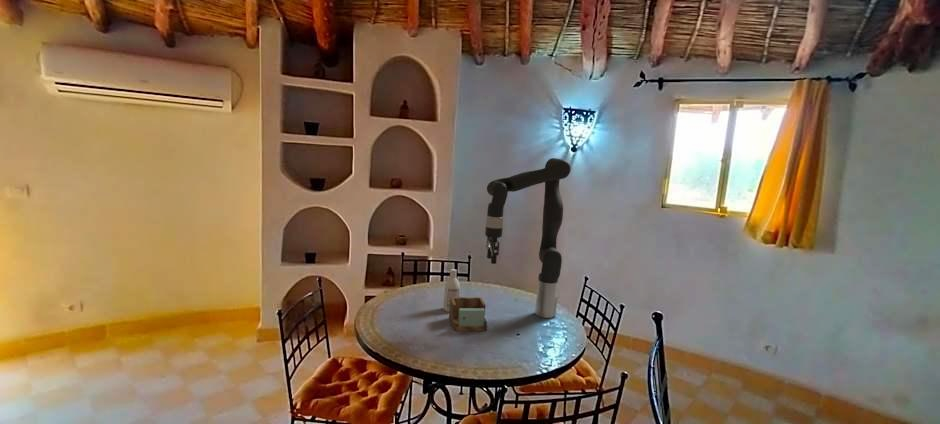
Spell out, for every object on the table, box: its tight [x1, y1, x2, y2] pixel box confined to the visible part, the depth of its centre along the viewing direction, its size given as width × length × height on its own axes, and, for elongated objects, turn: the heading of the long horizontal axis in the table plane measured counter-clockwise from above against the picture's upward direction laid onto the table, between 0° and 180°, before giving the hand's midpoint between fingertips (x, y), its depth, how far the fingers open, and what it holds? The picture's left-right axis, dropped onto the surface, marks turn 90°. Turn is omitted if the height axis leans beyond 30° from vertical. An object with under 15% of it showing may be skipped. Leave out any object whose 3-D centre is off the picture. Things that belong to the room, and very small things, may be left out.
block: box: [458, 308, 486, 327], centre depth 220 cm, size 11×3×9 cm, turn 100°
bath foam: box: [443, 268, 461, 313], centre depth 240 cm, size 7×7×20 cm
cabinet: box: [448, 296, 488, 332], centre depth 225 cm, size 14×14×10 cm
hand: (491, 260), depth 228 cm, fingers open, 8 cm apart
